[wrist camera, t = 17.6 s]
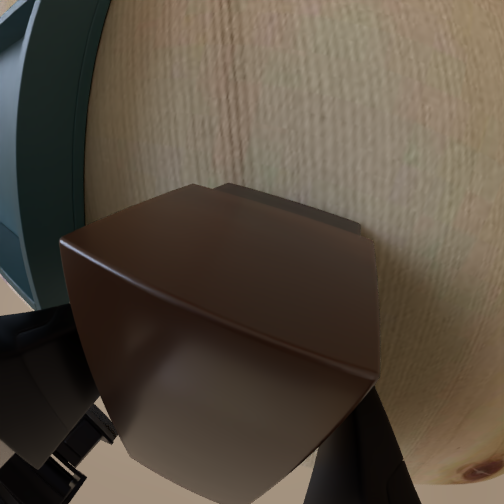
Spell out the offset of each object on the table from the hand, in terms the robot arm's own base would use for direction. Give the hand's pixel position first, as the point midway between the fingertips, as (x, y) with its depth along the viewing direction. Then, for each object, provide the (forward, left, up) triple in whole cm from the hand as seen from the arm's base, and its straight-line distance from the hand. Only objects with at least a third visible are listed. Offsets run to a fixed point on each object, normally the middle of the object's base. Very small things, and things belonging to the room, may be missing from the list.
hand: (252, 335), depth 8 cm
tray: (-11, +15, -1) cm, 19 cm away
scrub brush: (0, 0, -1) cm, 1 cm away
